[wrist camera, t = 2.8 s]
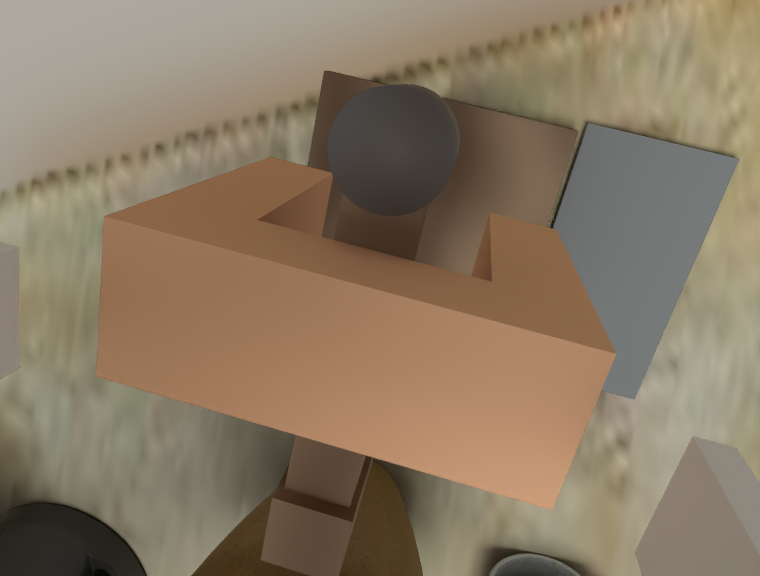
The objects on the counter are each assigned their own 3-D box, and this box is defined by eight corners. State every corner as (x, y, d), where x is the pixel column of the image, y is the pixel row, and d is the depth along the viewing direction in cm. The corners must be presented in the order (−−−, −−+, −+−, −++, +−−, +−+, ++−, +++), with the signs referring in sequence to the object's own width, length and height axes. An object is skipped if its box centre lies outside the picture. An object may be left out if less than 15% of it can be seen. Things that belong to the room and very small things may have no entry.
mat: (506, 360, 38) (507, 364, 37) (586, 122, 32) (588, 123, 32) (632, 394, 37) (634, 399, 36) (734, 157, 32) (739, 158, 31)
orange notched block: (255, 255, 24) (96, 376, 14) (270, 157, 22) (103, 215, 13) (523, 326, 23) (552, 510, 13) (556, 229, 21) (616, 353, 12)
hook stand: (291, 294, 39) (75, 531, 18) (333, 54, 33) (95, 13, 13) (501, 351, 37) (520, 672, 17) (580, 112, 32) (743, 167, 12)
